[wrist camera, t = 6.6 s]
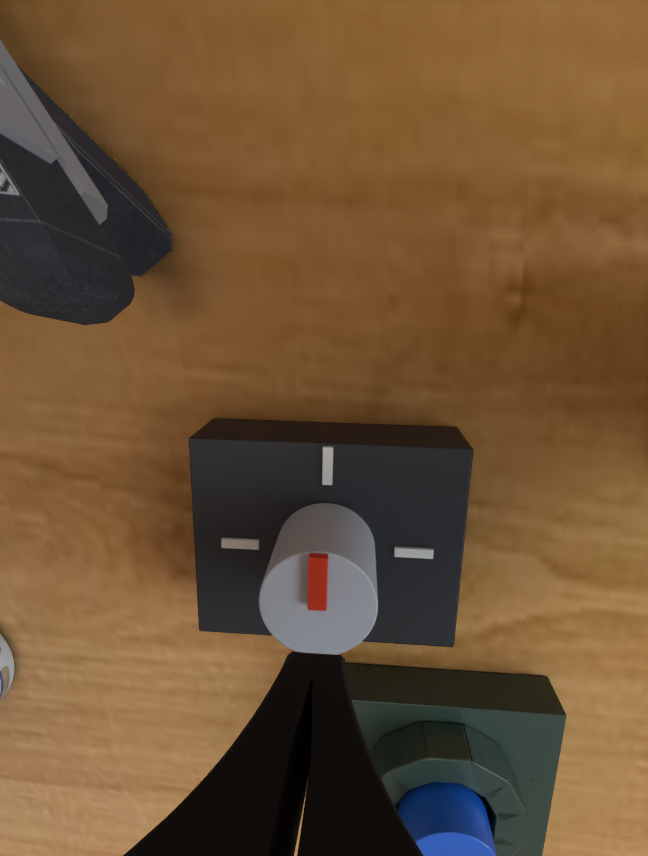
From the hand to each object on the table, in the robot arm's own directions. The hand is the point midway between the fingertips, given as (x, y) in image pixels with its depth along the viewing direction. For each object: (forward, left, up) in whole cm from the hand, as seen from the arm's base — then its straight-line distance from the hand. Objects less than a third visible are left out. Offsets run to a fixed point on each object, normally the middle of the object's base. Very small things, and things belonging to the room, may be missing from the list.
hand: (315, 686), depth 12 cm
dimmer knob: (0, 0, -6) cm, 6 cm away
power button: (-5, +11, -6) cm, 13 cm away
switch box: (-5, +11, -9) cm, 15 cm away
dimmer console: (0, 0, -9) cm, 9 cm away
